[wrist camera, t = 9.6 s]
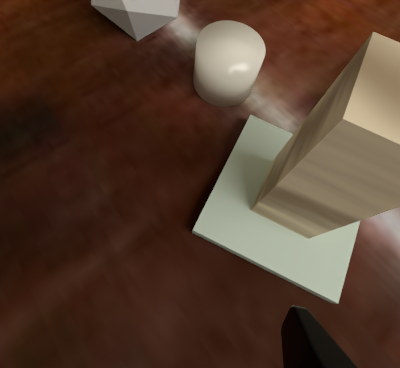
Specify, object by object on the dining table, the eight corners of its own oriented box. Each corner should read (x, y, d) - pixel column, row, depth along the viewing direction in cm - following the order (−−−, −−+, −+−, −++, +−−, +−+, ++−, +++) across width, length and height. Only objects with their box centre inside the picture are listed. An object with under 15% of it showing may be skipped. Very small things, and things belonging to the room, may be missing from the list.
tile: (331, 302, 21) (338, 303, 20) (191, 232, 22) (192, 230, 21) (366, 175, 25) (373, 170, 24) (247, 120, 26) (250, 114, 25)
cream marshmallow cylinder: (238, 116, 27) (249, 85, 22) (182, 91, 27) (184, 55, 23) (260, 74, 29) (275, 37, 24) (208, 51, 29) (214, 11, 25)
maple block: (308, 238, 22) (476, 179, 10) (250, 210, 22) (342, 118, 10) (326, 186, 23) (487, 79, 11) (272, 160, 24) (373, 31, 12)
